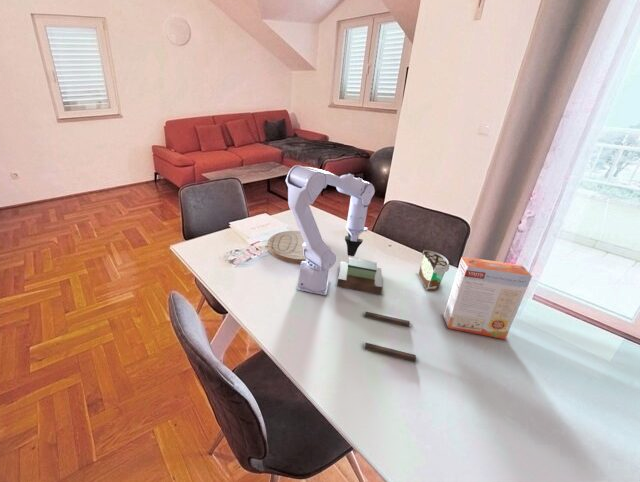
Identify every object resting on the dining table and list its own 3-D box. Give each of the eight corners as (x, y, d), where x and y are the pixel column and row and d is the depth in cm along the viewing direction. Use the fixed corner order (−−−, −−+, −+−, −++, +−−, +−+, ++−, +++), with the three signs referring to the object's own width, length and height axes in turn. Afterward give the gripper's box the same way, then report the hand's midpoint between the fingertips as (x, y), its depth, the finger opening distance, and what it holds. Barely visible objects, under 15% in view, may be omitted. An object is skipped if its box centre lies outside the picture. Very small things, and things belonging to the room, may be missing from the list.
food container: (448, 295, 103) (457, 269, 99) (428, 293, 104) (435, 267, 100) (435, 274, 114) (442, 250, 110) (417, 272, 115) (423, 248, 111)
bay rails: (364, 348, 83) (365, 345, 82) (364, 314, 95) (365, 311, 94) (415, 361, 79) (416, 358, 78) (408, 324, 91) (409, 320, 90)
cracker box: (497, 325, 90) (523, 264, 82) (505, 340, 85) (534, 276, 77) (441, 315, 94) (461, 255, 86) (446, 328, 89) (468, 266, 81)
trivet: (327, 237, 141) (327, 233, 140) (328, 267, 119) (329, 262, 118) (272, 232, 146) (272, 228, 146) (263, 259, 124) (263, 255, 123)
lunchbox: (346, 274, 109) (348, 265, 107) (347, 267, 113) (348, 257, 112) (374, 280, 106) (376, 270, 104) (374, 272, 110) (376, 262, 109)
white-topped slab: (337, 286, 108) (338, 278, 107) (339, 268, 118) (340, 261, 117) (380, 294, 103) (382, 287, 102) (379, 275, 114) (381, 268, 113)
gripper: (370, 225, 98) (363, 262, 103) (369, 209, 110) (363, 243, 116) (346, 222, 100) (341, 258, 105) (348, 206, 112) (343, 239, 118)
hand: (351, 250), depth 111 cm, fingers open, 7 cm apart
